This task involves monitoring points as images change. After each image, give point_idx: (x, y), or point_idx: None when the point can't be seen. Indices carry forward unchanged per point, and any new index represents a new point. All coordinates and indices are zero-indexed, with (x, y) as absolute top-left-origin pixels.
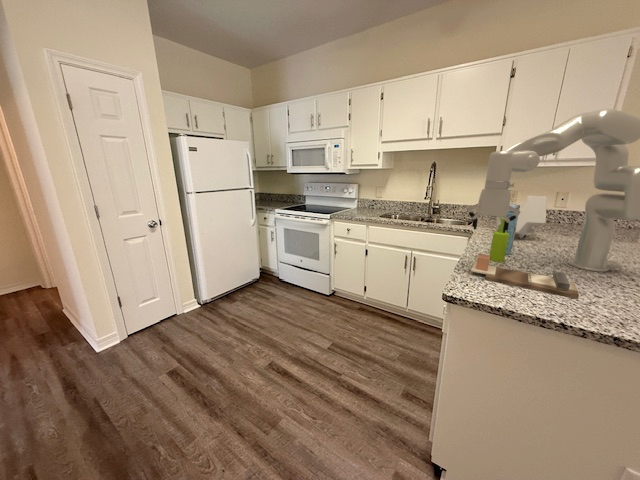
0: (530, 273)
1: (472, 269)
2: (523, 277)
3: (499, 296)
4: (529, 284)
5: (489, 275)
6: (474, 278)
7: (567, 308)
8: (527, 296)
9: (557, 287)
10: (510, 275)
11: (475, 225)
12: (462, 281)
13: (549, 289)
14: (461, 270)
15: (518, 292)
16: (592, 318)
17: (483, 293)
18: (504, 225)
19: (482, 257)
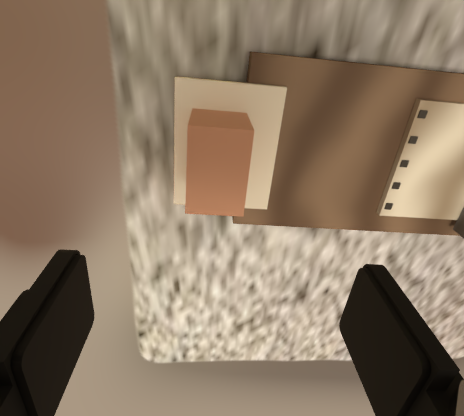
0: (429, 105)
1: (178, 195)
2: (379, 158)
3: (265, 314)
4: (373, 225)
5: (246, 208)
6: (194, 220)
7: (415, 300)
8: (341, 279)
9: (455, 229)
10: (331, 161)
11: (70, 361)
12: (159, 268)
13: (425, 233)
14: (132, 153)
15: (323, 265)
16: (443, 321)
17: (225, 317)
18: (374, 399)
19: (209, 202)
